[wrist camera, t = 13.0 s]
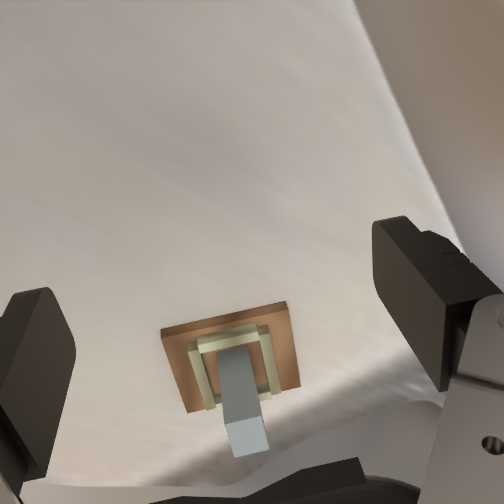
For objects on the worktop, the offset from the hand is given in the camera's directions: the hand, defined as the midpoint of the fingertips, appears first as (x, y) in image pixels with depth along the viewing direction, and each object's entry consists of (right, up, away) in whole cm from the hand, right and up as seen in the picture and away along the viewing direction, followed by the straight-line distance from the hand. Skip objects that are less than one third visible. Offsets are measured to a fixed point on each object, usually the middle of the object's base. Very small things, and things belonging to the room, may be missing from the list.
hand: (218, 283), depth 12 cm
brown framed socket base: (-1, -11, +44) cm, 45 cm away
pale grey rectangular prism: (-1, -12, +43) cm, 44 cm away
